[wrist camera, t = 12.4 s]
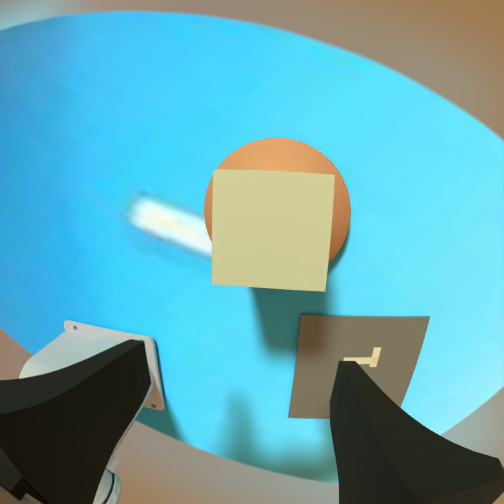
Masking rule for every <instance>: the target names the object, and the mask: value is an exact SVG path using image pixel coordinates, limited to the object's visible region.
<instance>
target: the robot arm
mask: <svg viewBox="0 0 504 504" xmlns="http://www.w3.org/2000/svg"><path fill="white" fill-rule="evenodd" d="M64 327H65V332H63V333H62V334H61V335H60V336H58V337H57V338H56V339H54V340H53V341H52V342H50V343H49V344H48V345H46V346H45V347H44V348H43V349H41V350H40V351H39V352H37V353H36V354H35V355H34V356H32V357H31V358H30V359H29V360H28V361H27V362H26V364H25V365H24V367H23V369H22V371H21V374H20V377H19V379H13V380H0V504H119V502H120V499H121V488H122V485H121V479H120V477H119V476H118V475H117V474H116V473H114V471H115V470H116V468H117V466H118V464H119V462H120V461H119V460H118V459H117V458H116V457H115V456H114V454H115V452H116V450H117V449H118V447H119V445H120V444H121V442H122V440H123V439H124V437H125V435H126V434H127V432H128V431H129V429H130V427H131V426H132V424H133V423H134V421H135V419H136V418H137V416H138V415H139V413H140V411H141V410H142V408H143V407H146V408H151V409H155V410H159V411H162V410H164V408H165V403H164V398H163V393H162V387H161V381H160V375H159V369H158V362H157V355H156V348H155V342H154V340H153V338H151V337H150V336H145V335H139V334H133V333H128V332H123V331H117V330H112V329H107V328H103V327H98V326H93V325H89V324H84V323H80V322H75V321H71V320H66V321H65V322H64ZM76 327H77V328H76ZM141 340H143V341H141ZM330 426H331V433H332V439H333V445H334V451H335V457H336V463H337V470H338V478H339V504H492V503H493V502H494V501H495V500H496V499H497V498H498V497H499V496H500V495H501V494H502V493H503V492H504V468H503V466H502V464H501V462H500V461H499V459H498V458H495V457H491V456H488V455H484V454H481V453H478V452H474V451H472V450H469V449H467V448H464V447H462V446H460V445H457V444H455V443H453V442H451V441H449V440H447V439H445V438H443V437H441V436H440V435H438V434H436V433H435V432H433V431H431V430H430V429H428V428H426V427H425V426H423V425H422V424H421V423H419V422H418V421H416V420H415V419H414V418H412V417H411V416H410V415H408V414H407V413H406V412H405V411H404V410H402V409H401V408H400V407H399V406H398V405H397V404H396V403H395V402H393V401H392V400H391V399H390V398H389V397H388V396H387V395H386V394H385V393H384V392H383V391H382V390H381V389H380V388H379V387H378V386H377V384H376V383H375V382H374V381H373V380H372V379H371V378H370V377H369V376H368V375H367V373H366V372H365V371H364V370H363V369H362V368H361V367H360V365H359V364H358V363H357V362H356V361H339V363H338V368H337V372H336V377H335V381H334V386H333V390H332V394H331V399H330Z"/></svg>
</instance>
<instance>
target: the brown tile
mask: <svg viewBox="0 0 504 504" xmlns="http://www.w3.org/2000/svg"><path fill="white" fill-rule="evenodd" d="M429 319H430V317H429V316H409V317H390V316H338V315H312V314H301V319H300V329H299V338H298V347H297V355H296V363H295V371H294V379H293V386H292V394H291V401H290V408H289V414H288V418H330V399H331V394H332V390H333V386H334V381H335V377H336V372H337V368H338V363H339V361H356V362H357V363H358V364H359V365H360V367H361V368H362V369H363V370H364V371H365V372H366V373H367V375H368V376H369V377H370V378H371V379H372V380H373V381H374V382H375V383H376V384H377V386H378V387H379V388H380V389H381V390H382V391H383V392H384V393H385V394H386V395H387V396H388V397H389V398H390V399H391V400H392V401H393V402H395V403H396V404H397V405H398V406H399V407H401V404H402V402H403V399H404V397H405V394H406V392H407V389H408V386H409V384H410V381H411V378H412V375H413V372H414V369H415V366H416V363H417V360H418V357H419V354H420V351H421V348H422V344H423V341H424V337H425V334H426V330H427V326H428V323H429Z"/></svg>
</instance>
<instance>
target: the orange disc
mask: <svg viewBox="0 0 504 504" xmlns="http://www.w3.org/2000/svg"><path fill="white" fill-rule="evenodd" d="M217 169H228V170H265V171H287V172H304V173H318V174H331V175H335V181H334V199H333V214H332V227H331V239H330V250H329V261H328V263H329V262H330V261H331V260H332V259H333V258H334V257H335V255H336V254H337V253H338V251H339V250H340V248H341V246H342V245H343V243H344V240H345V238H346V236H347V232H348V229H349V224H350V217H351V206H350V198H349V194H348V190H347V187H346V185H345V182H344V180H343V178H342V176H341V174H340V173H339V171H338V170H337V168H336V167H335V166H334V164H333V163H332V162H331V161H330V160H329V159H328V158H327V157H326V156H325V155H323V154H322V153H321V152H319V151H318V150H317V149H315V148H313V147H311V146H309V145H307V144H305V143H302V142H300V141H296V140H292V139H285V138H268V139H262V140H258V141H254V142H251V143H249V144H247V145H244V146H242V147H241V148H239V149H237V150H236V151H234V152H233V153H232V154H230V155H229V156H228V157H227V158H226V159H225V160H224V161H223V162H222V163H221V164H220V166H219V167H218V168H217ZM212 201H213V177H212V179H211V181H210V183H209V186H208V189H207V192H206V197H205V204H204V216H205V223H206V228H207V231H208V234H209V237H210V239H211V242H212Z"/></svg>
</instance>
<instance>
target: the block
mask: <svg viewBox="0 0 504 504" xmlns="http://www.w3.org/2000/svg"><path fill="white" fill-rule="evenodd" d="M334 181H335V175H331V174H318V173H304V172H287V171H265V170H228V169H213V201H212V284H219V285H231V286H244V287H258V288H273V289H289V290H306V291H324V292H325V288H326V279H327V270H328V261H329V250H330V239H331V227H332V214H333V199H334Z"/></svg>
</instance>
